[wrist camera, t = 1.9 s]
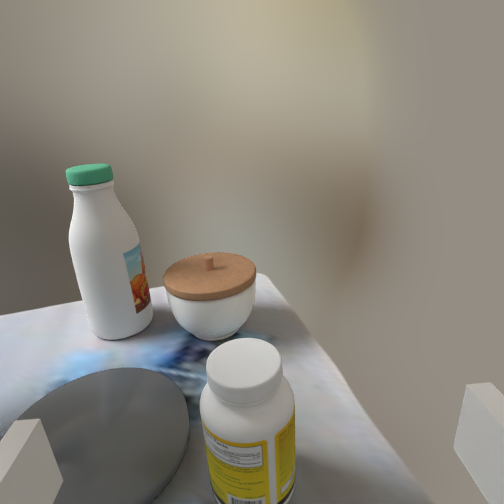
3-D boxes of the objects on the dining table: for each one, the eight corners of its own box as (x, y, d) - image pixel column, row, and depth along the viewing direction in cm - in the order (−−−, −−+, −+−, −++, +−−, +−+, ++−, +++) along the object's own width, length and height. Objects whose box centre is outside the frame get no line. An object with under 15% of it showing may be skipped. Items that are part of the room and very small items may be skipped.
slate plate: (-60, 555, 23) (-70, 541, 22) (50, 384, 37) (46, 373, 36) (176, 536, 23) (173, 521, 23) (197, 374, 37) (195, 362, 37)
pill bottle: (269, 431, 30) (264, 320, 26) (313, 497, 25) (315, 371, 21) (199, 465, 28) (181, 348, 24) (231, 545, 23) (216, 414, 18)
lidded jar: (275, 333, 43) (272, 262, 39) (189, 366, 38) (177, 288, 35) (235, 295, 52) (230, 234, 48) (161, 318, 47) (150, 252, 44)
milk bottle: (123, 348, 42) (83, 174, 34) (77, 333, 45) (31, 171, 37) (166, 314, 48) (140, 161, 40) (123, 303, 51) (91, 159, 44)
